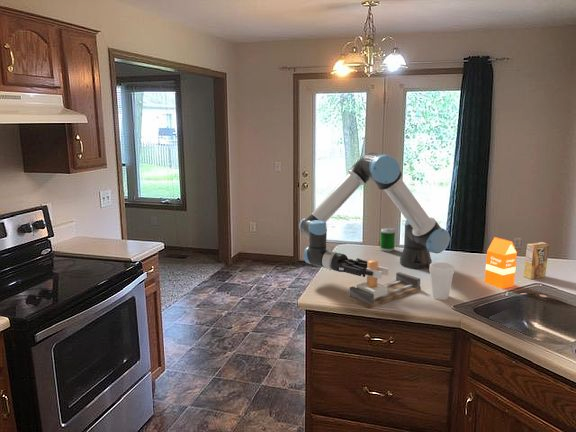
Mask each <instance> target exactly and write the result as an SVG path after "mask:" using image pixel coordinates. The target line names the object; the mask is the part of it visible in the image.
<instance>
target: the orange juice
mask: <svg viewBox="0 0 576 432" xmlns="http://www.w3.org/2000/svg"><path fill="white" fill-rule="evenodd" d="M517 255H518V252H517V249H516V248H515V245H514V243H513V241H512V240H508V239H505V238H501V237H496V236H493V239H492V241H491V243H490V245H489V246H488V249H487V251H486V259H485V260H486V261H485V262H486V263H485V275H484V283H485V284H487V285H490V286H492V287H496V288H499V289H502V290H503V289H507V288H510V287H514V286H515V276H516V268H517V267H516V266H517Z"/></svg>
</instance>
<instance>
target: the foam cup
mask: <svg viewBox="0 0 576 432" xmlns="http://www.w3.org/2000/svg"><path fill="white" fill-rule="evenodd" d="M428 269H429V271H428V272H429V275H430V279H429V280H430V289H431V297H432V298H433V299H436V300H443V301H444V300H448V299H449V296H450V292H451V287H452V282H453V278H454V274H455V265H454V264H452V263H449V262H442V261H439V262H438V261H436V262H434V261H433V262H432V263H431V264H430V267H428Z"/></svg>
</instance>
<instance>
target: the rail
mask: <svg viewBox="0 0 576 432" xmlns="http://www.w3.org/2000/svg"><path fill="white" fill-rule="evenodd" d="M383 285H384V286H387V287H388V290H387V294H386V295H383V296H380V297H377V298H375V299H374V294H371V293H369V292H366V291H364V290H361V289H358V288H357V286H350V287H349V296H348V301H350V302H352V303H354V304H357V305H360V306H363V307H364V308H367V309H371V308H375V307H377V306H380V305H382V304H385V303H388V302H390V301H394V300H396V299H400V298H403V297H405V296H407V295H410V294H413V293H416V292H419V291H421V289H422V288H421V278H419V277H416V276H413V275H410V274H406V273H403V272H402V271H401V272H400V271H399V272H396V274H395V280H394V281H392V282H388V283H385V284H383Z"/></svg>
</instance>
